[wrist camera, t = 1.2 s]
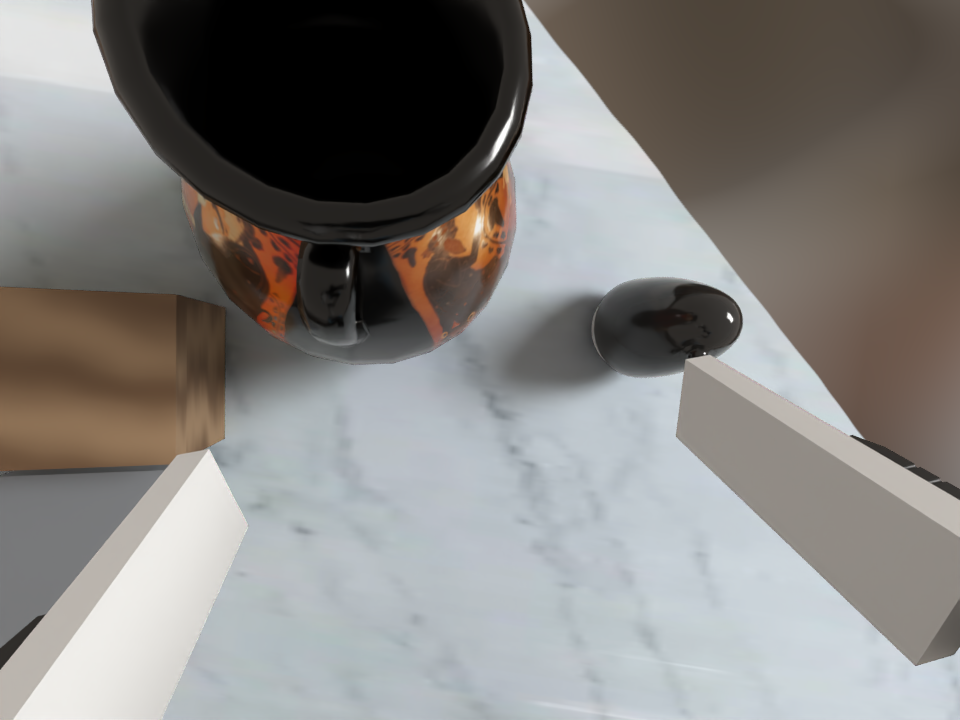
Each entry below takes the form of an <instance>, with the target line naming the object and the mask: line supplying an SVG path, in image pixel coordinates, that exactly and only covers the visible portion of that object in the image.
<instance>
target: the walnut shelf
mask: <svg viewBox="0 0 960 720" xmlns="http://www.w3.org/2000/svg"><path fill="white" fill-rule="evenodd" d="M223 439H225V307H221V306H218V305H214V304H210V303H206V302H203V301H199V300H195V299H191V298H187V297H184V296H180V295H175V294H152V293H129V292H107V291H84V290H61V289H39V288H16V287H0V471H15V470H41V469H67V468H93V467H118V466H144V465H169V464H170V463H171V462H172V461H173V459H174V458H175V457H176V456H177V455H180V454H185V453H190V452H196V451H201V450H204V449H206V448H207V447H209V446H211V445H213V444H215V443H217V442H219V441H221V440H223Z"/></svg>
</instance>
